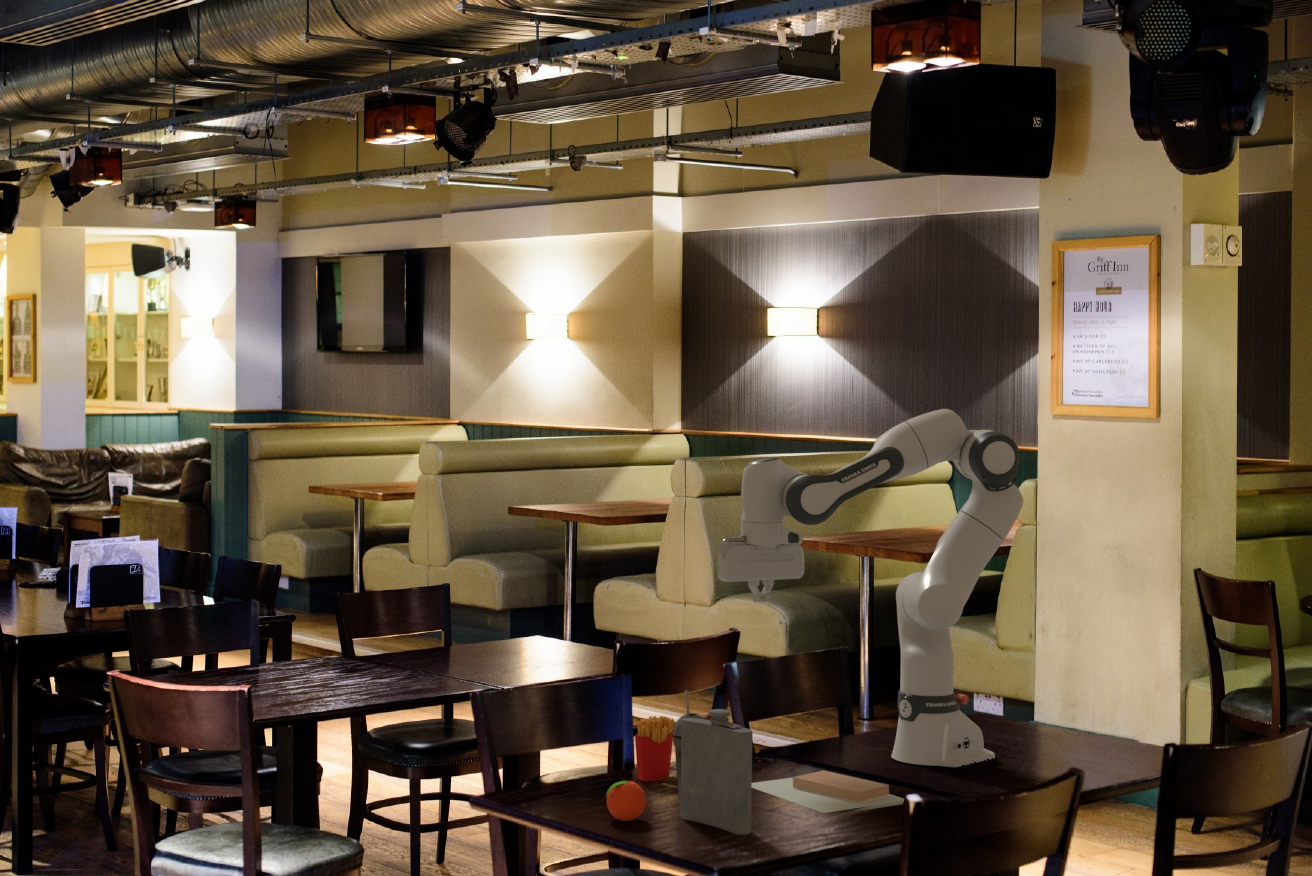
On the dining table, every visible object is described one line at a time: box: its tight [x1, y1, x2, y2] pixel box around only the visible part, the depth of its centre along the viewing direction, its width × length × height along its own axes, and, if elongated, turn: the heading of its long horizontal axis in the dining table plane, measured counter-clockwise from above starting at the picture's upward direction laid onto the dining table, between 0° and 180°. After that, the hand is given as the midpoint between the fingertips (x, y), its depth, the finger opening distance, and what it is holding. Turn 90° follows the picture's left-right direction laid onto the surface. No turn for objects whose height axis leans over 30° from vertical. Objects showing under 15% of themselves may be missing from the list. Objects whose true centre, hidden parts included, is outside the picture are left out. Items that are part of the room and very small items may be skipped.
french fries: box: [634, 715, 676, 782], centre depth 302 cm, size 8×4×12 cm, turn 126°
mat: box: [752, 777, 905, 814], centre depth 291 cm, size 20×25×1 cm
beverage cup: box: [672, 689, 705, 799], centre depth 288 cm, size 7×7×20 cm
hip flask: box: [679, 708, 753, 836], centre depth 268 cm, size 16×4×20 cm, turn 43°
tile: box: [792, 770, 890, 803], centre depth 291 cm, size 2×9×16 cm
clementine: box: [604, 779, 647, 822], centre depth 270 cm, size 8×7×7 cm
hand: (760, 601), depth 320 cm, fingers closed
